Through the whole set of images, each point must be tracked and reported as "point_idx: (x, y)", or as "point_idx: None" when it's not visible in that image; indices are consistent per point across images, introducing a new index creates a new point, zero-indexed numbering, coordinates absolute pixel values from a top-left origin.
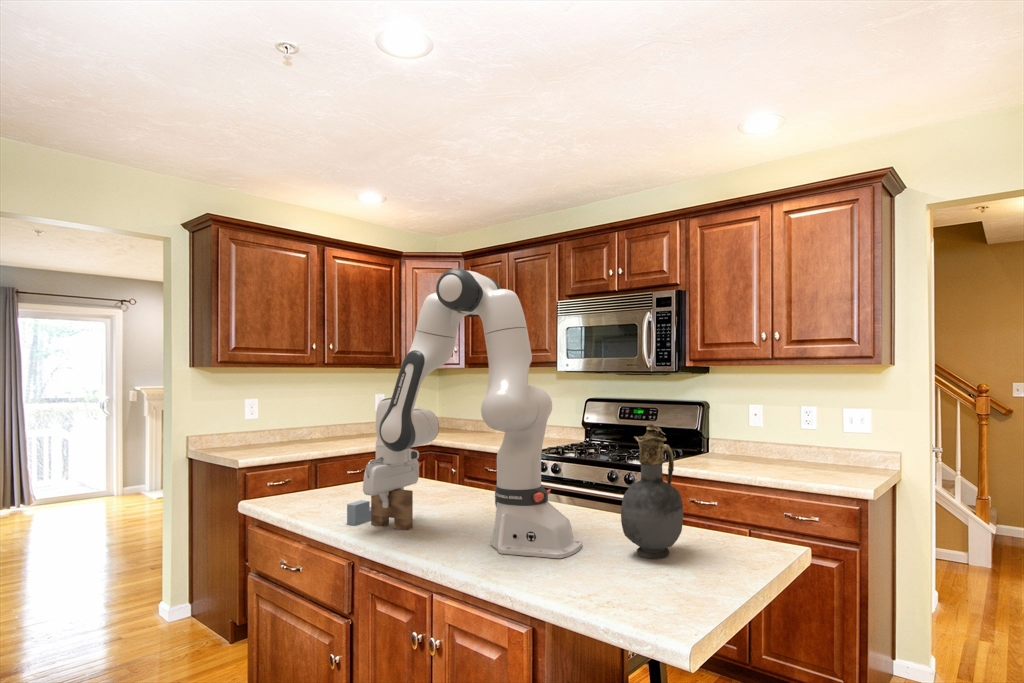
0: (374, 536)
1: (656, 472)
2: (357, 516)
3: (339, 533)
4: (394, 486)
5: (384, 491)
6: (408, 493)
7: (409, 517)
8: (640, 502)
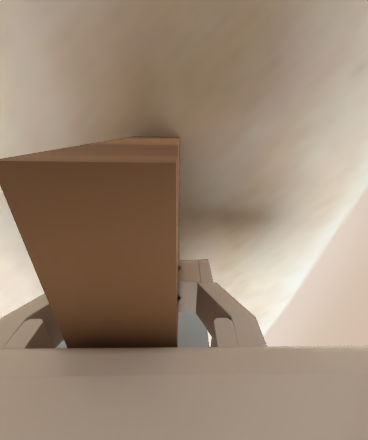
0: (291, 194)
1: None
2: (196, 330)
3: (283, 296)
4: (154, 388)
5: (337, 356)
6: (112, 159)
7: (146, 139)
8: None
